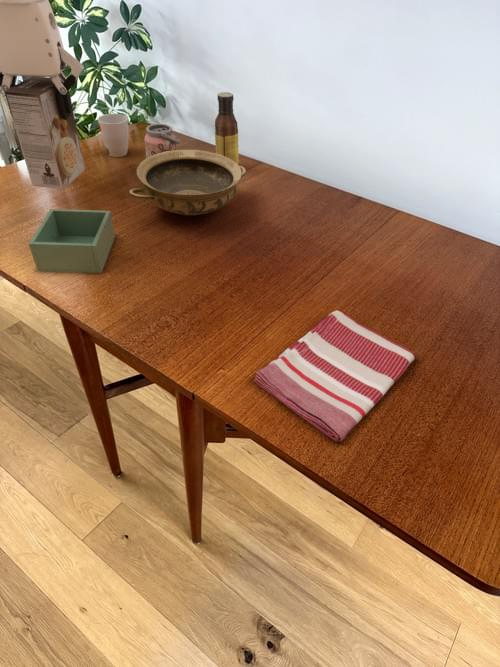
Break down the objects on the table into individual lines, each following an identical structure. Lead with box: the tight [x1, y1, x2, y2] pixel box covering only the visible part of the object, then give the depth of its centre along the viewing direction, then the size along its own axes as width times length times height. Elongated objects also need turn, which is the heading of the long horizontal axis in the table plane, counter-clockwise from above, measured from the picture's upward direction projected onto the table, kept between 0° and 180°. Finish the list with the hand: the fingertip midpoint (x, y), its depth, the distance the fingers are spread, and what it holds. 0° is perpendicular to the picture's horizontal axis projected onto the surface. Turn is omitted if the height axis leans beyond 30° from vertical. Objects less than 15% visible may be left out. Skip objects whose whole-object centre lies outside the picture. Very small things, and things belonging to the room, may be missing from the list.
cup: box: [97, 113, 130, 158], centre depth 132 cm, size 8×8×10 cm
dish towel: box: [253, 309, 417, 443], centre depth 75 cm, size 17×23×3 cm
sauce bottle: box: [214, 91, 240, 165], centre depth 124 cm, size 6×6×20 cm
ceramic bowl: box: [128, 149, 247, 217], centre depth 110 cm, size 30×24×10 cm
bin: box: [28, 208, 116, 274], centre depth 95 cm, size 13×14×7 cm
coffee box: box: [3, 76, 86, 191], centre depth 81 cm, size 9×6×16 cm
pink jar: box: [143, 123, 181, 159], centre depth 124 cm, size 9×8×12 cm
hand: (44, 115), depth 79 cm, fingers closed on coffee box, 7 cm apart
